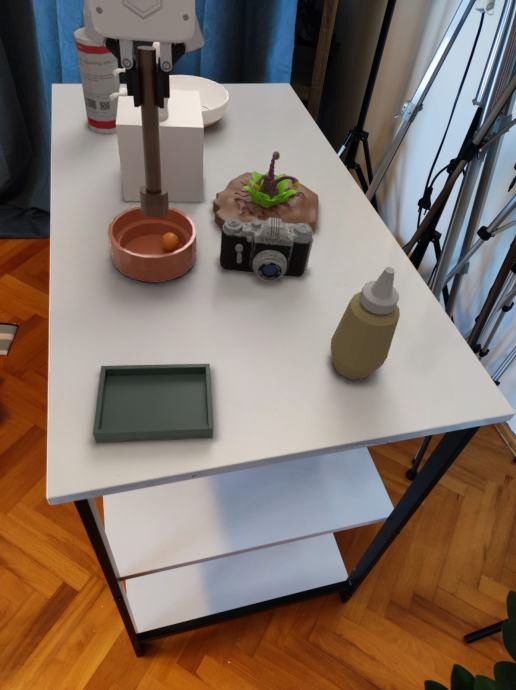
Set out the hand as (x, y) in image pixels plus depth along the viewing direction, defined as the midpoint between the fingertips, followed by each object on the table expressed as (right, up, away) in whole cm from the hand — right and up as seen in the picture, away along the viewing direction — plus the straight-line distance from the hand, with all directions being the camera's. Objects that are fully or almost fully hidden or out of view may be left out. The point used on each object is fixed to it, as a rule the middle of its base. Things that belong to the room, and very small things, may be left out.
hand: (149, 101), depth 57 cm
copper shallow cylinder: (-5, -13, +26) cm, 30 cm away
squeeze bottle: (+26, -31, +15) cm, 43 cm away
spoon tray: (-1, -36, +7) cm, 37 cm away
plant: (+14, -2, +38) cm, 41 cm away
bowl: (-4, +25, +60) cm, 65 cm away
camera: (+13, -16, +26) cm, 34 cm away
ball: (-2, -11, +26) cm, 28 cm away
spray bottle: (-22, +21, +54) cm, 62 cm away
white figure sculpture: (-6, +3, +40) cm, 41 cm away
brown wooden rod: (-1, -10, +9) cm, 14 cm away
